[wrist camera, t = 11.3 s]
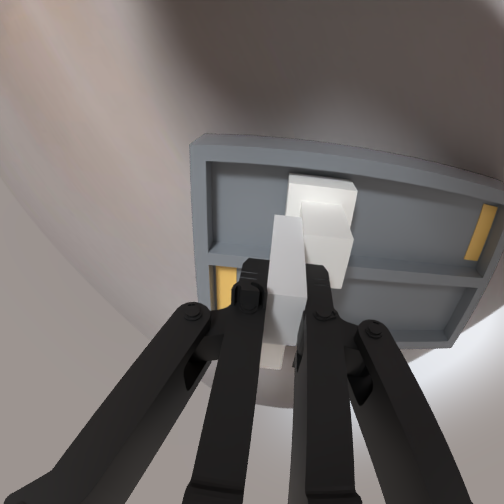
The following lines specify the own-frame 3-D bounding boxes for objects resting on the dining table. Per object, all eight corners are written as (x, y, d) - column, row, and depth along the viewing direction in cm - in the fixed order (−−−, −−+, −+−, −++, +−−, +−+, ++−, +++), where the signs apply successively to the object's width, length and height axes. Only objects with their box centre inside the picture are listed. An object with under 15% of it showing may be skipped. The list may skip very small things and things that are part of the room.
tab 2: (288, 172, 19) (289, 213, 14) (351, 179, 18) (374, 222, 13) (282, 241, 21) (278, 298, 16) (338, 246, 21) (351, 304, 16)
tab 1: (246, 267, 23) (234, 325, 18) (300, 272, 23) (301, 332, 18) (244, 315, 26) (234, 372, 21) (292, 320, 25) (290, 378, 20)
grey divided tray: (204, 133, 20) (189, 144, 17) (499, 180, 18) (522, 197, 15) (209, 307, 29) (201, 334, 26) (440, 323, 27) (451, 347, 24)
